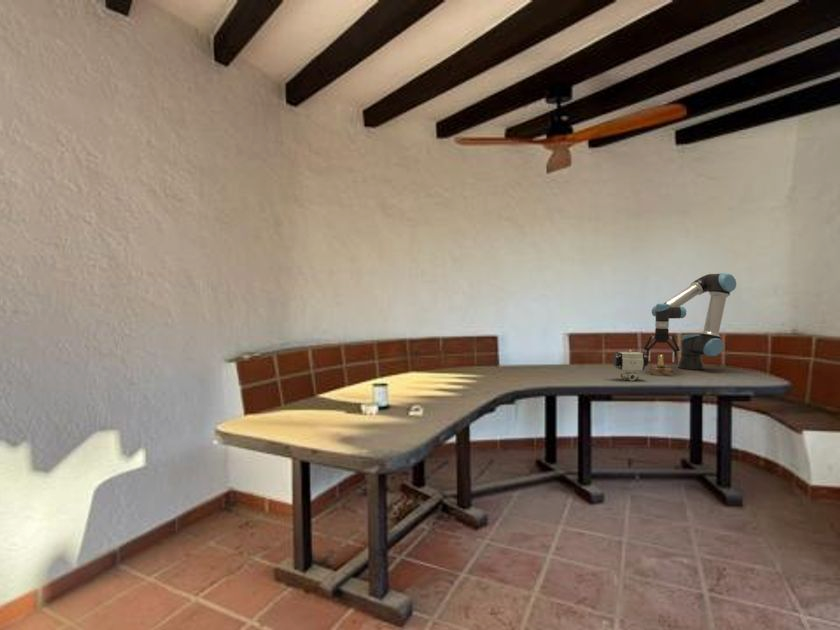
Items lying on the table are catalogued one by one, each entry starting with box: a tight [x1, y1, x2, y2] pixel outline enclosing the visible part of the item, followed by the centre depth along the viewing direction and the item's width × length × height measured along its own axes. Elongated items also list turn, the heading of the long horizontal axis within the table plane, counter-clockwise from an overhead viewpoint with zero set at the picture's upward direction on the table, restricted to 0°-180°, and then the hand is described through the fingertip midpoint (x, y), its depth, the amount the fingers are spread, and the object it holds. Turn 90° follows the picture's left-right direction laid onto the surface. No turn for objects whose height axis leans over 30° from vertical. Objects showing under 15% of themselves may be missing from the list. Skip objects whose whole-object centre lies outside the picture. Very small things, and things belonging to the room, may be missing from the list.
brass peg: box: [657, 354, 665, 368], centre depth 303 cm, size 3×3×12 cm
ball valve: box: [612, 349, 649, 382], centre depth 281 cm, size 18×8×18 cm, turn 86°
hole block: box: [648, 364, 674, 377], centre depth 304 cm, size 12×16×4 cm
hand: (661, 361), depth 303 cm, fingers open, 13 cm apart
